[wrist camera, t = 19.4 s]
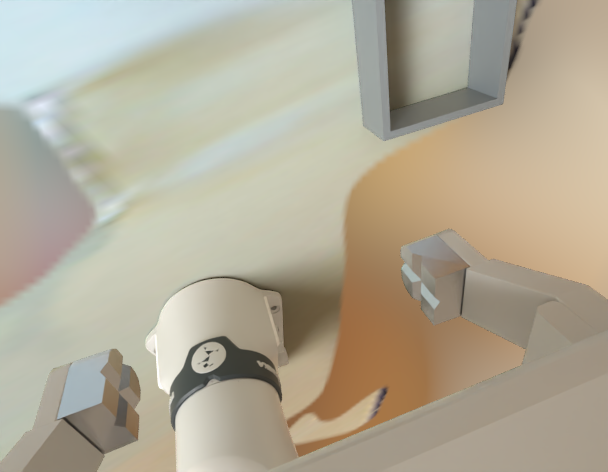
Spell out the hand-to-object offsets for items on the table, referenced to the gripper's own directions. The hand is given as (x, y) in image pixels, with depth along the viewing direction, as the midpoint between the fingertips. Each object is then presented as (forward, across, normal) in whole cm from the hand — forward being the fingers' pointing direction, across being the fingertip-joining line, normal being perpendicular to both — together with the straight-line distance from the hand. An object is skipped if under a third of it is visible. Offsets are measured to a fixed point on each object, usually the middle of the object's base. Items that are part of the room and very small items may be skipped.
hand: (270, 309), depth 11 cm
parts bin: (+31, +23, -2) cm, 39 cm away
